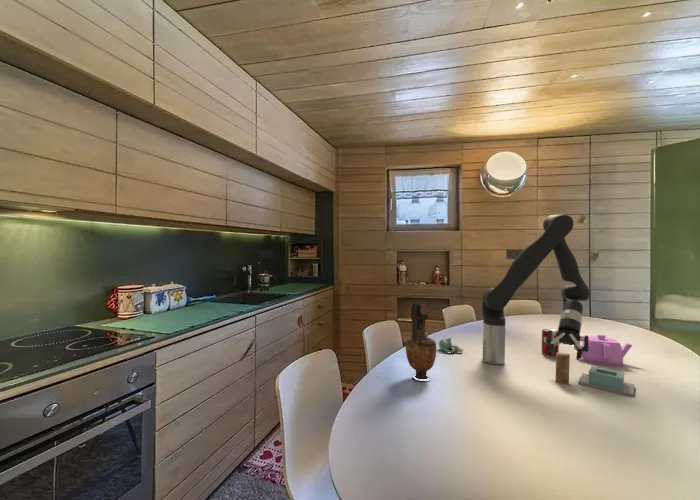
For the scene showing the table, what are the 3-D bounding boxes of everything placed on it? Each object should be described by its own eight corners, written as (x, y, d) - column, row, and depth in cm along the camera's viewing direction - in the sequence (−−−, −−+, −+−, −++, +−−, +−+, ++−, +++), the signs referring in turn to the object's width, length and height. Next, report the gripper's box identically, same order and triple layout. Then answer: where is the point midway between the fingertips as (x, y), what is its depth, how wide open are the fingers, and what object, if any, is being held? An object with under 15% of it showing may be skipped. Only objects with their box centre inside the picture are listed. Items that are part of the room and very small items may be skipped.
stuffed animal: (460, 345, 157) (436, 336, 164) (457, 359, 158) (433, 350, 165) (467, 340, 166) (444, 332, 173) (464, 354, 167) (441, 345, 174)
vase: (441, 378, 129) (442, 301, 129) (424, 387, 120) (426, 304, 120) (415, 370, 137) (416, 298, 137) (397, 378, 128) (399, 301, 128)
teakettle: (570, 357, 159) (571, 332, 159) (592, 354, 166) (593, 329, 166) (610, 369, 144) (611, 341, 144) (633, 365, 151) (633, 337, 151)
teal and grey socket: (578, 383, 127) (578, 370, 127) (582, 375, 136) (583, 363, 136) (633, 396, 116) (633, 382, 116) (634, 386, 125) (634, 373, 125)
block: (555, 382, 128) (556, 353, 128) (556, 380, 130) (557, 352, 130) (567, 385, 125) (568, 355, 126) (569, 383, 127) (569, 354, 127)
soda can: (561, 357, 159) (561, 332, 159) (544, 356, 160) (545, 331, 160) (555, 353, 166) (555, 329, 166) (539, 352, 167) (539, 328, 167)
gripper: (549, 314, 142) (542, 347, 133) (590, 319, 132) (585, 355, 124) (552, 325, 146) (545, 357, 137) (591, 331, 136) (587, 365, 128)
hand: (564, 356), depth 131 cm, fingers open, 8 cm apart
